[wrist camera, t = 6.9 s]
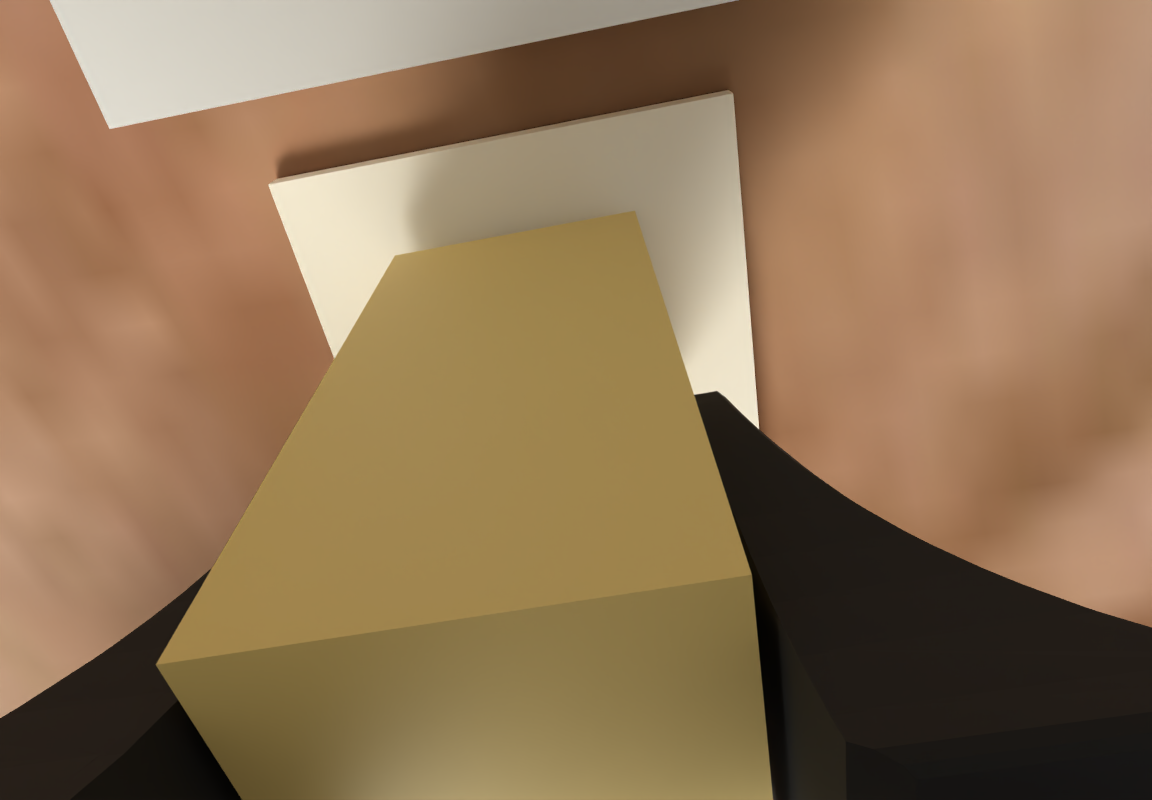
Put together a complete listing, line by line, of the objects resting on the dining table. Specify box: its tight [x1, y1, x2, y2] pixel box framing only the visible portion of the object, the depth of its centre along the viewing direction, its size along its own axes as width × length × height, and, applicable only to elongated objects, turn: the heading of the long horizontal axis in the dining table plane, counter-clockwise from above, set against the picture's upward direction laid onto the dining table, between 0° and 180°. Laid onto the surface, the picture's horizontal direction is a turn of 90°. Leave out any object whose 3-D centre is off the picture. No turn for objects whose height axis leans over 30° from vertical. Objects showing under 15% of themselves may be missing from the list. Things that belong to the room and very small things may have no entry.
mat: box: [269, 90, 759, 429], centre depth 15 cm, size 8×8×1 cm
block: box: [156, 211, 773, 800], centre depth 10 cm, size 4×4×9 cm
